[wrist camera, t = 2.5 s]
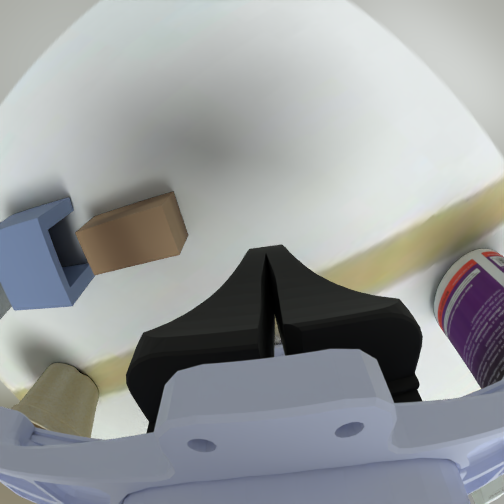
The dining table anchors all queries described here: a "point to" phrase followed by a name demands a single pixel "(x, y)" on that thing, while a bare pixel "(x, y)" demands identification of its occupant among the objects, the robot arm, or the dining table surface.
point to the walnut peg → (133, 234)
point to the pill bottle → (475, 313)
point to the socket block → (38, 260)
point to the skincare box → (489, 491)
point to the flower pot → (61, 401)
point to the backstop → (4, 302)
